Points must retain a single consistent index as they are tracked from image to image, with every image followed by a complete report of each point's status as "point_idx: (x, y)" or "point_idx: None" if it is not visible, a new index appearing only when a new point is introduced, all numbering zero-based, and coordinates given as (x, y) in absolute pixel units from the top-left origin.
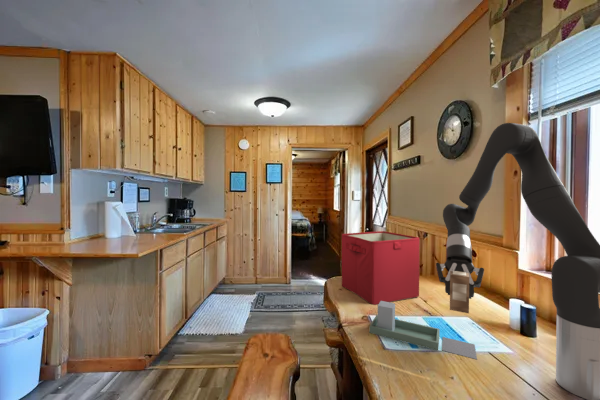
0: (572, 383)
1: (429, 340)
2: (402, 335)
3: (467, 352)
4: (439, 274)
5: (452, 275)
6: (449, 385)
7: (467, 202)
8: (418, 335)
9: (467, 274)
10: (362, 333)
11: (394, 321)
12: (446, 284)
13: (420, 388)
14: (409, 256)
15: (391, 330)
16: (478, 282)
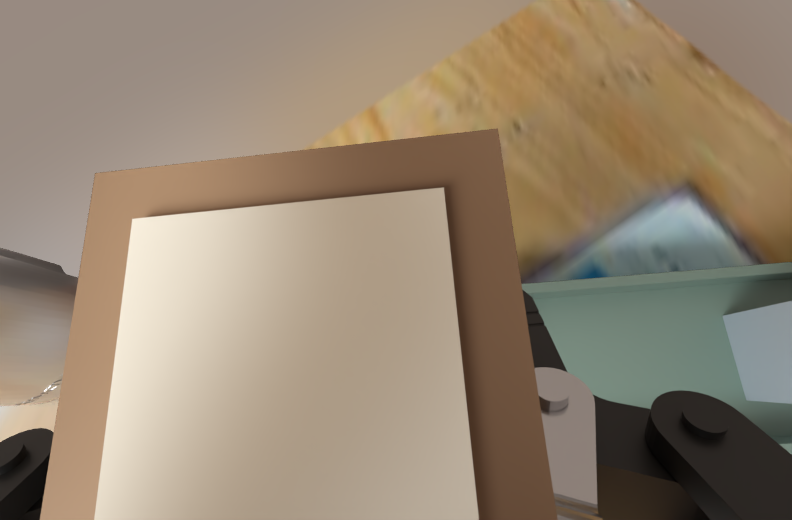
0: (62, 275)
1: (534, 287)
2: (666, 273)
3: None
4: (788, 468)
5: (444, 145)
6: (424, 111)
7: None
8: (605, 392)
9: (86, 417)
10: None
11: (780, 384)
12: (537, 347)
13: (497, 50)
14: None
15: (742, 312)
16: (19, 449)
